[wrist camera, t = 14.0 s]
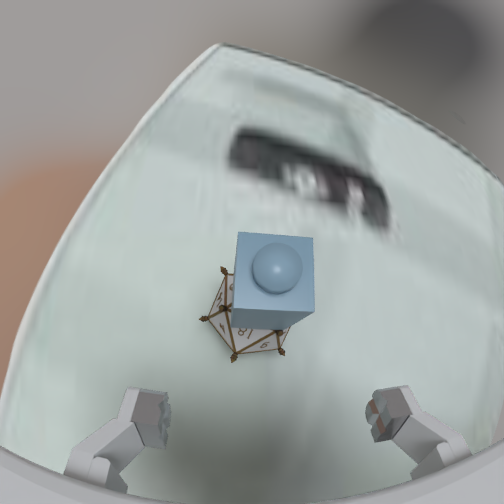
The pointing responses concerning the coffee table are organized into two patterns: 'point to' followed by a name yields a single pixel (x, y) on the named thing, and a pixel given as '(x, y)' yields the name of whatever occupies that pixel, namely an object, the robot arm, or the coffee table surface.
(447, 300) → the coffee table surface
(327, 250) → the coffee table surface
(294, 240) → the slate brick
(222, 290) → the twenty-sided die
